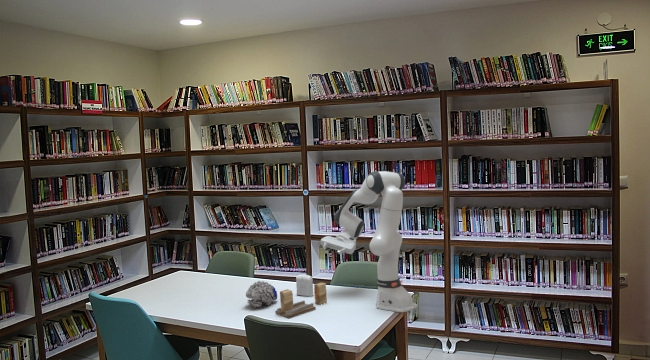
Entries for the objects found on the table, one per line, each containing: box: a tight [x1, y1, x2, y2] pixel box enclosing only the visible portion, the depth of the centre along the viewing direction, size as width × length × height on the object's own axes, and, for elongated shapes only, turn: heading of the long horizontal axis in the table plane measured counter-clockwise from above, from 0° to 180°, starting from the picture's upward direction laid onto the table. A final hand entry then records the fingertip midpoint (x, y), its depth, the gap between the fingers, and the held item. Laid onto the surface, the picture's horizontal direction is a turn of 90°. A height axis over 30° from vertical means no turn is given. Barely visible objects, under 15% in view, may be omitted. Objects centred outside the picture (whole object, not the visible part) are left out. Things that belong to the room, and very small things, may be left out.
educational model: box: [245, 280, 278, 309], centre depth 292 cm, size 14×20×15 cm
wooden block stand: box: [274, 288, 317, 319], centre depth 278 cm, size 12×18×12 cm, turn 131°
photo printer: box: [295, 273, 314, 298], centre depth 306 cm, size 10×4×12 cm, turn 61°
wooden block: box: [313, 281, 328, 306], centre depth 289 cm, size 4×6×11 cm
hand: (331, 250), depth 292 cm, fingers open, 8 cm apart
